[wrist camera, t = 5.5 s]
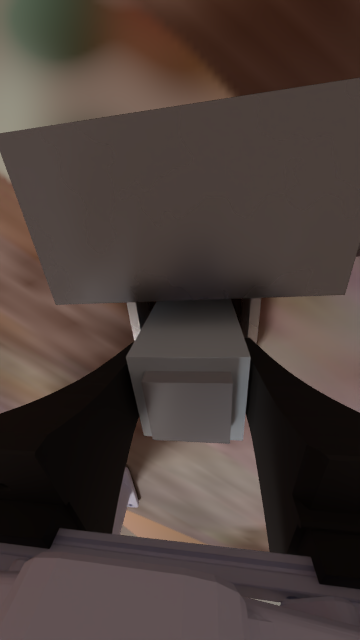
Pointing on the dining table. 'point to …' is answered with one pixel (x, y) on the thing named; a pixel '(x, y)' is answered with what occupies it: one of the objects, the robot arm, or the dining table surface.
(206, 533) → the dining table surface
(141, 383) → the block
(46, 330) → the dining table surface
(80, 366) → the dining table surface
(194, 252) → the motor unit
